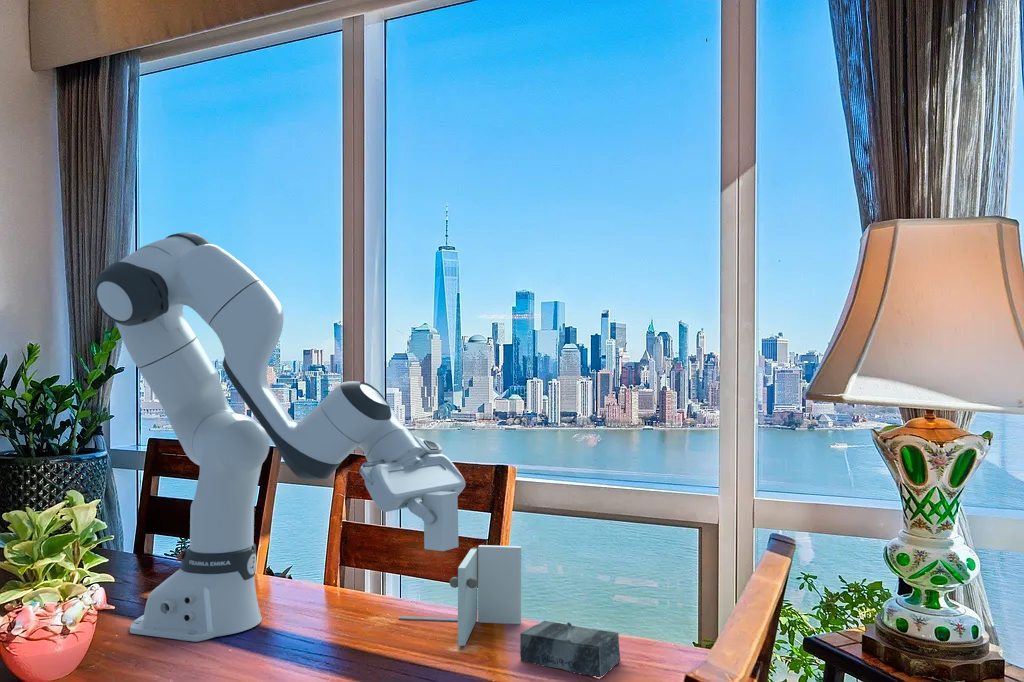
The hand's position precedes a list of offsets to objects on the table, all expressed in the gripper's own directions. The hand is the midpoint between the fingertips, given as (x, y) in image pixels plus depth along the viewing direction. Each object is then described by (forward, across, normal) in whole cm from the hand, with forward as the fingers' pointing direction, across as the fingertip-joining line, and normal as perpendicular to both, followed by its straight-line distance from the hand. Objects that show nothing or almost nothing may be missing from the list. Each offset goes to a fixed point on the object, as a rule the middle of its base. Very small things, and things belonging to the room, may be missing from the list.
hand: (443, 519), depth 128 cm
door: (+13, +11, +18) cm, 24 cm away
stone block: (+29, +10, +4) cm, 31 cm away
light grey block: (+3, 0, +4) cm, 5 cm away
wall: (+9, +16, +22) cm, 28 cm away
